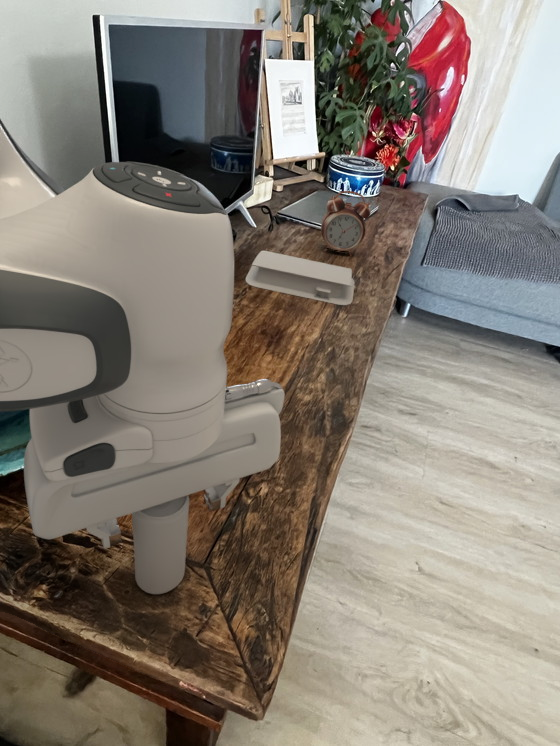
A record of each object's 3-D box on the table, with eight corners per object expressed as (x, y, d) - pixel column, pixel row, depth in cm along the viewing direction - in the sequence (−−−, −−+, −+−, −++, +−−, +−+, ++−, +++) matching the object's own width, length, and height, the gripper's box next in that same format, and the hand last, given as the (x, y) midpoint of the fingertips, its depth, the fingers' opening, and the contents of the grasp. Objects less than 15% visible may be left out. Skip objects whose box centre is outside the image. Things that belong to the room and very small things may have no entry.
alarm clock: (317, 252, 121) (329, 190, 113) (316, 244, 125) (328, 184, 117) (360, 259, 122) (376, 198, 113) (358, 251, 126) (373, 192, 117)
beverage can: (193, 563, 50) (199, 485, 43) (169, 605, 46) (172, 527, 39) (151, 545, 51) (150, 466, 44) (124, 586, 47) (119, 506, 40)
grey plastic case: (352, 307, 101) (356, 290, 98) (242, 284, 102) (244, 266, 99) (355, 276, 113) (359, 261, 111) (257, 256, 114) (259, 240, 112)
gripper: (269, 354, 43) (253, 464, 51) (3, 408, 33) (36, 532, 42) (306, 398, 39) (282, 510, 47) (14, 474, 29) (48, 597, 37)
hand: (164, 521), depth 44 cm, fingers open, 8 cm apart
